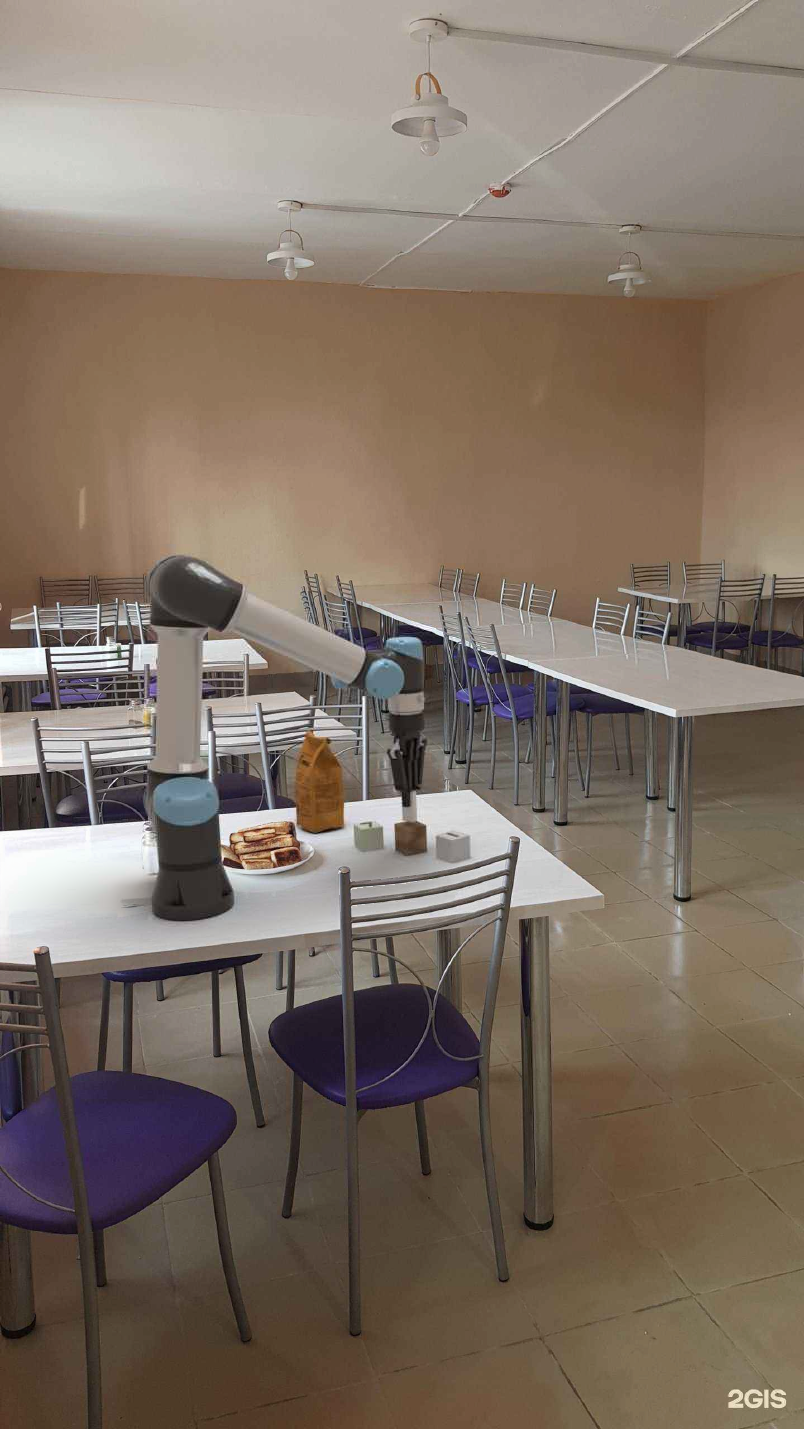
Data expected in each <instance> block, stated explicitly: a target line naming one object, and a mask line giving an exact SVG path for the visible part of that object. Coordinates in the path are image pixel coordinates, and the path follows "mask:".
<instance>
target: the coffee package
mask: <svg viewBox="0 0 804 1429" xmlns="http://www.w3.org/2000/svg"><path fill="white" fill-rule="evenodd" d="M330 744H332V740H331V739H330V738H328V737H320V736H316V735H315V733H313V732H312V731H311V730H307V731H306V733H305V736H304V740H303V742H302V744H301V748H300V751H299V754H298V759H297V762H296V769H295V781H294V782H295V783H294V786H295V787H294V798H295V813H296V815H295V816H296V824H297V825H299V826H301V828H302V830H303V831H307V832H310V833H312V834H316V833H317V834H318V833H320V832H323V831H326V830H330V829H336V828H339V827H341V826H345V820H344V819H345V816H344V815H345V814H344V813H345V799H344V788H343V786H344V785H343V784H344V783H343V769H342V766H341V764H340V762H339V761H338V759H337V757H336V755H334V753H333V751H332V750H331V748H330V747H329V745H330Z"/></svg>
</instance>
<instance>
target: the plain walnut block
mask: <svg viewBox="0 0 804 1429" xmlns="http://www.w3.org/2000/svg"><path fill="white" fill-rule="evenodd" d="M427 830H428V829H427V825H426V823H425V824H424V823H422V822H420V821H418V820H417V821H415V822H409V821H402V822H397V823H394V849H395V851H396V852H398V853H399V854H402V855H403V856H405V857H410V856H415V855H419V854H424V853H428V837H427Z"/></svg>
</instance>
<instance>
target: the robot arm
mask: <svg viewBox="0 0 804 1429" xmlns="http://www.w3.org/2000/svg"><path fill="white" fill-rule="evenodd" d="M146 584H147V586H146V587H147V593H148V594H147V595H148V597H149V599H150V601H149V604H150V605H149V626H150V628H151V629H152V630H153V631H155V633H156V634H157V659H156V664H157V665H156V666H157V668H156V715H155V716H156V717H155V756H154V758H153V759H152V760H151V761H150V762H148V764H147V767H146V768H147V769H146V786H145V789H144V793H143V807H144V811H145V814H146V815H147V817H148V818H149V820H150V822H151V823H152V825H153V828H154V831H155V838H156V840H155V841H156V852H157V860H158V861H157V863H158V871H157V876H156V880H155V884H154V888H153V891H152V896H151V908H152V913H153V914H154V915H155V916H158V917H159V918H162V919H166V920H172V921H173V920H174V921H191V920H193V921H194V920H199V919H205V918H210V917H213V916H216V915H220V914H222V913H224V912H227V911H228V910H229V909H231V908H232V907H233V906H234V904H235V894H234V893H235V892H234V888H233V886H232V884H231V881H230V879H229V876H228V874H227V872H226V869H225V867H224V864H223V857H222V856H223V855H222V844H221V843H222V841H221V827H220V810H219V808H220V798H219V795H218V790H217V788H216V786H215V784H214V783H213V782H211V781H209V780H208V773H209V772H208V767H209V765H208V764H207V763H206V762H205V761H204V760H203V759H202V758H201V743H202V742H201V740H202V739H201V738H202V736H201V735H202V706H203V705H202V703H203V702H202V699H203V668H204V667H203V666H204V665H203V664H204V663H203V660H204V637H205V635H206V634H207V633H209V631H210V630H211V629H213V630H215V631H218V632H219V633H222V634H223V633H226V632H229V631H231V632H232V633H235V634H236V635H239V636H242V637H244V638H245V639H248V640H250V641H252V642H254V643H257V644H259V645H261V646H263V647H266V648H267V649H270V650H272V651H275V652H277V653H278V654H281V655H283V656H286V657H287V658H289V659H292V660H293V661H294V660H295V661H296V662H299V663H300V664H303V665H305V666H307V667H310V668H311V669H314V670H316V671H319V672H320V673H322V674H325V675H328V676H329V677H330V681H331V684H332V687H334V689H336V690H337V689H338V690H351V689H357V690H359V691H362V692H363V693H366V694H369V695H370V696H371V697H373V698H376V699H379V700H387V709H388V711H389V713H388V729H389V731H391V732H393V733H394V737H393V746H392V748H387V750H386V751H387V752H386V754H387V756H388V758H389V761H390V768H391V774H392V779H393V784H394V790H395V791H397V792H400V793H401V812H402V814H401V816H402V822H406V821H409V822H415V821H418V814H417V813H418V812H417V811H418V810H417V809H418V808H417V806H418V804H417V791H420V790H421V789H422V786H421V785H422V783H423V776H424V775H423V774H424V766H425V764H424V762H425V754H426V747H427V744H428V739H426V738H422V737H421V736H422V735H421V732H422V731H423V730H424V729H425V728H426V723H425V721H426V720H425V718H426V717H425V713H424V711H423V710H424V709H425V697H424V696H425V695H424V693H425V692H424V691H425V690H424V660H425V658H424V652H423V651H424V650H423V643H422V641H421V639H419V638H418V637H412V636H398V637H391V638H387V640H386V641H385V642H386V644H385V647H384V648H381V649H380V648H379V649H370V650H369V649H365V648H363V647H362V646H360V645H358V644H355V643H353V642H351V641H349V640H347V639H345V638H343V637H340V636H338V635H336V634H335V633H332V632H331V631H329V630H326V629H324V628H322V627H320V626H318V625H315V624H313V623H312V622H309V621H307V620H305V619H302V618H301V617H299V616H297V615H294V614H292V613H291V612H288V611H286V610H285V609H283V608H280V607H278V606H276V605H274V604H271V603H270V602H267V601H265V600H263V599H261V598H259V597H256V596H255V595H253V594H250V593H248V592H247V589H246V587H245V585H244V584H243V583H240V582H239V581H237V580H234V579H232V578H230V577H229V576H227V575H226V574H224V573H222V572H221V571H220V570H218V569H216V568H215V567H213V565H210V564H209V563H208V562H206V561H205V560H202V559H200V558H198V557H194V556H190V555H183V554H179V555H178V554H177V555H175V554H173V555H170V556H167V557H165V558H164V559H162V560H160V561H158V563H157V564H156V565H155V566H153V568H152V570H151V572H150V574H149V575H148V578H147V583H146Z"/></svg>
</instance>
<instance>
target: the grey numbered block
mask: <svg viewBox="0 0 804 1429" xmlns="http://www.w3.org/2000/svg"><path fill="white" fill-rule="evenodd" d="M435 850H436V851H435V854H436V859H439V860H442V861H445V862H448V863H450V864H455V863H458V862H461V861H464V860H468V859H470V858H471V835H470V834H467V833H465V832H460V831H458V830H454V829H453V830H450V831H446V832H443V833H439V834H436V835H435Z"/></svg>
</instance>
